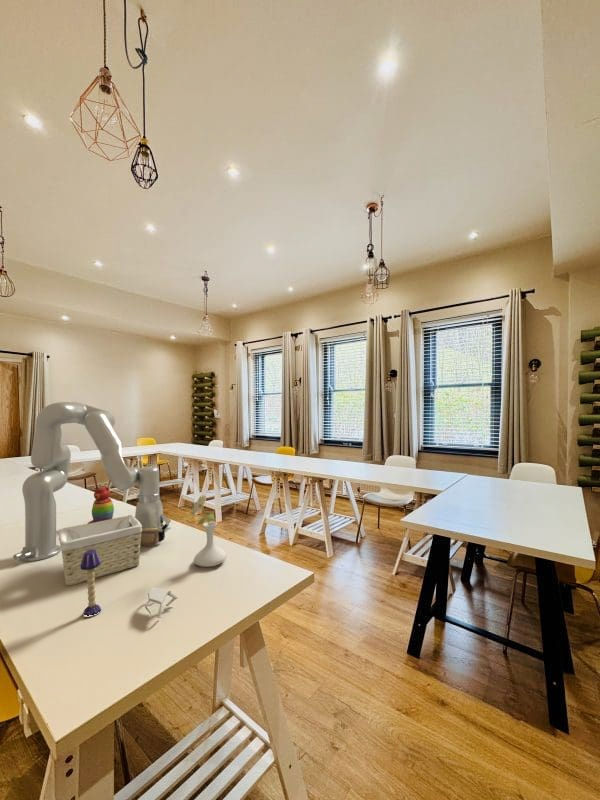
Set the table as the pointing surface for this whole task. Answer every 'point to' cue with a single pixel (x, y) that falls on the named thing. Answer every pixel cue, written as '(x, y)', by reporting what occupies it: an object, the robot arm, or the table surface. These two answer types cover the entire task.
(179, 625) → the table surface
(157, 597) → the white legged frame
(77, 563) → the storage basket
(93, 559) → the toy lamp
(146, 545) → the walnut cube
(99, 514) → the stacking bear
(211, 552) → the flower in vase
